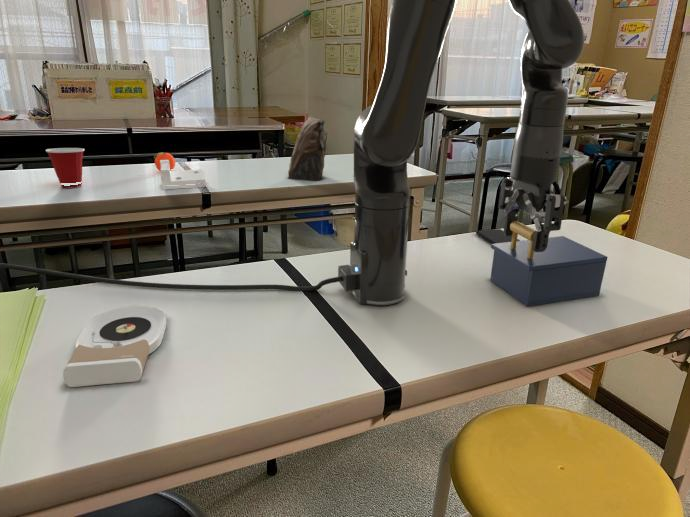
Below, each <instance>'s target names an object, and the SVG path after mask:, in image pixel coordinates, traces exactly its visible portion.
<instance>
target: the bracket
mask: <svg viewBox="0 0 690 517" xmlns="http://www.w3.org/2000/svg"><path fill="white" fill-rule="evenodd" d="M160 164H161V169H160V170H161V171H160V170H159V171H160V176H161V184H162V190H177V189H192V188H206V187H207V185H206V176H205V170H204V169H187V170H171V171H170V166H169V160H160ZM199 183H202V184H199ZM186 184H198V185H186ZM165 185H180V186H165Z"/></svg>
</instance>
